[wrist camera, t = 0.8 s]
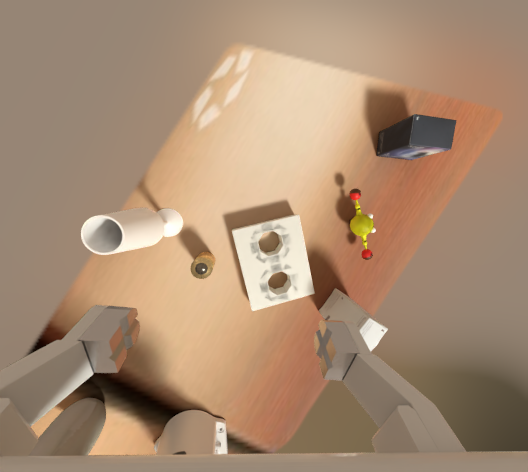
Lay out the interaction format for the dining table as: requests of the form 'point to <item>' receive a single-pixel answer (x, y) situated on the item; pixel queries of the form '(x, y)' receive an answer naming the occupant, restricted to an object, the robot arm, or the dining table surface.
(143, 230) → the champagne flute
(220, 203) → the dining table surface
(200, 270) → the bushing
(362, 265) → the dining table surface
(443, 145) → the small box
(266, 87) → the dining table surface
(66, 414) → the grey bottle
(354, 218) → the toy figure
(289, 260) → the jig
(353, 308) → the skincare box
